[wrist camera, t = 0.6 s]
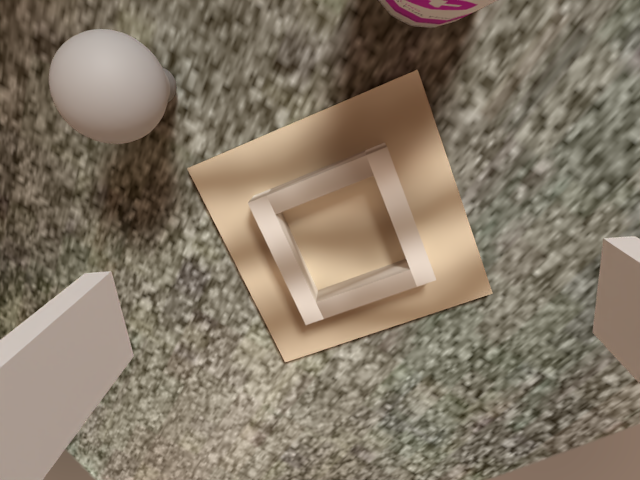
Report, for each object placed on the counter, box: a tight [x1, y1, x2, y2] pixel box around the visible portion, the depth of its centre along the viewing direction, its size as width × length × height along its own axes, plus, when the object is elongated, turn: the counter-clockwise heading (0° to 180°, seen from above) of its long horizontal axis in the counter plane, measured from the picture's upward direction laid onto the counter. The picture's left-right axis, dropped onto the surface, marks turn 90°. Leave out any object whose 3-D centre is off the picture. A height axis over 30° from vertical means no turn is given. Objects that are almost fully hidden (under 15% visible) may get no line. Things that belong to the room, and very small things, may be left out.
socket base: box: [188, 70, 493, 362], centre depth 36 cm, size 18×18×3 cm
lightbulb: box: [49, 29, 176, 144], centre depth 29 cm, size 6×6×11 cm
